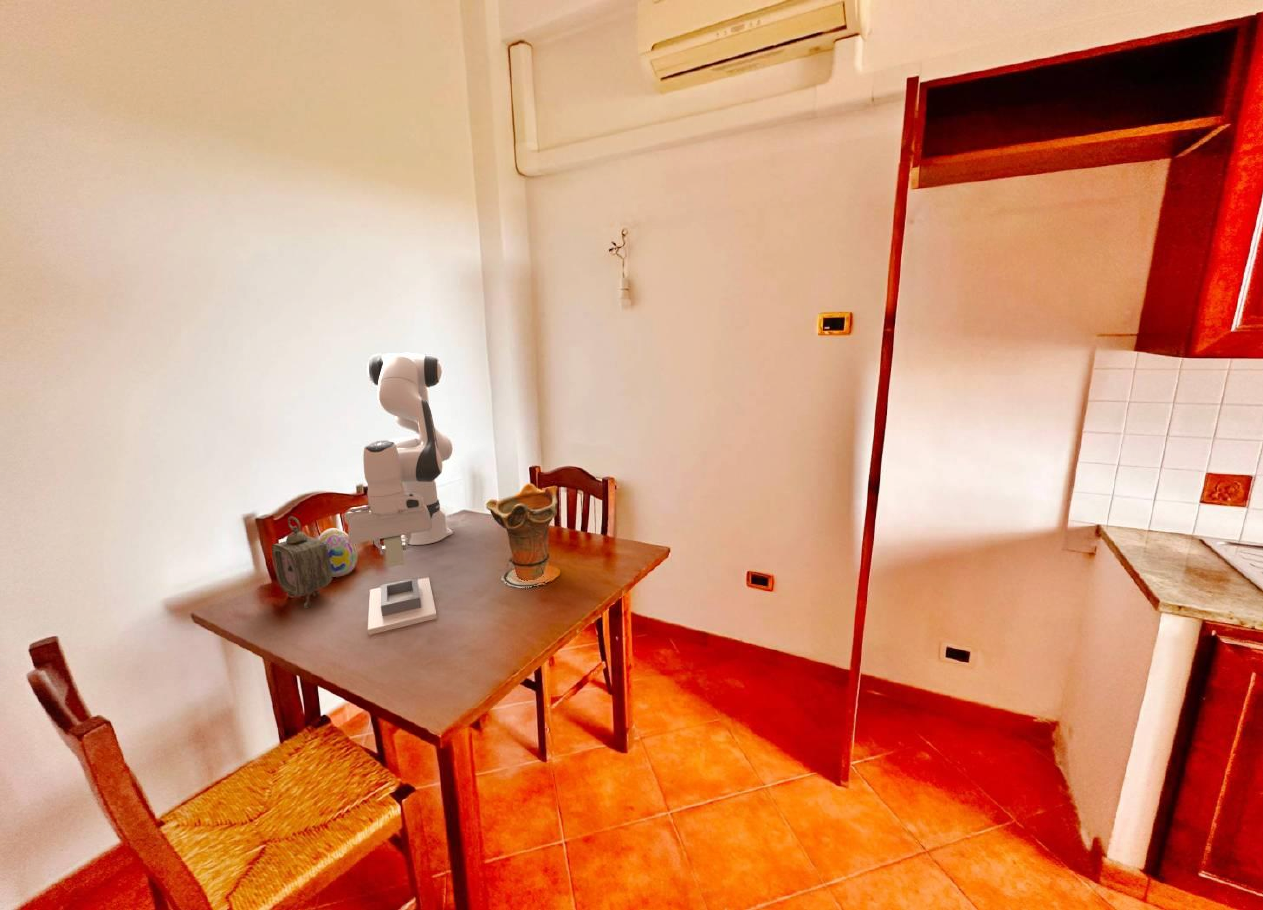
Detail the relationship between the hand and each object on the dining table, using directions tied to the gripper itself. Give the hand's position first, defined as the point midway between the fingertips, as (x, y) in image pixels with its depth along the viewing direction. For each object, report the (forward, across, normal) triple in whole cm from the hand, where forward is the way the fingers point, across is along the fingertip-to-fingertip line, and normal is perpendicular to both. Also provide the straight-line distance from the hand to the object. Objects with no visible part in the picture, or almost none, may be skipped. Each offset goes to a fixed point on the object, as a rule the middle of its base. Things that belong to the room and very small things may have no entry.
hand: (394, 551), depth 135 cm
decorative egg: (+16, -18, +34) cm, 42 cm away
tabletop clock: (+16, -24, +18) cm, 34 cm away
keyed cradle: (+16, 0, 0) cm, 16 cm away
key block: (+3, 0, 0) cm, 3 cm away
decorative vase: (+16, +37, +1) cm, 40 cm away
